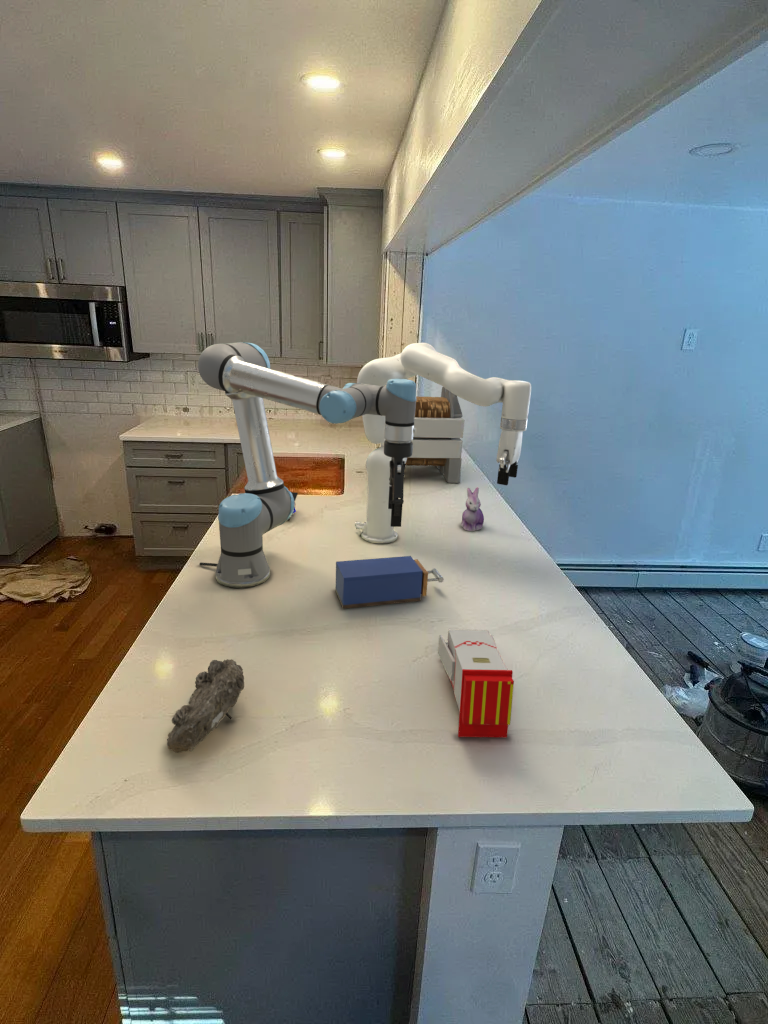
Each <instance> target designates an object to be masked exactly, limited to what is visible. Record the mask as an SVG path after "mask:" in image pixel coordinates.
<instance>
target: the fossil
mask: <svg viewBox="0 0 768 1024" xmlns="http://www.w3.org/2000/svg"><path fill="white" fill-rule="evenodd" d="M243 670H244V669H243V667H242V665H240V664H237V662H236V661H235V660H234V659H232V658H231V659H227V658H226V659H224V660H223V661H222V660H217V659H212V660H211V661H210V663H209V665H208V666H207V671H201V672H199V673H198V674H197V675H196V676H195V680H194V684H195V685H194V687H195V689H194V690H193V693H192V694H191V697H190V698H189V700H188V704H184V705H182V706H181V707H180V709H177V710H176V711H175V713H174V715H173V716H172V718H171V723H172V724H173V727H172V730H171V731H170V732H168V734H167V738H166V741H167V742H166V745H167V749H168V750H169V751H173V752H174V753H176V754H178V753H182V752H188V751H189V752H192V751H193V750H195V748H196V747H197V746H199V744H200V743H201V742H203V741H204V740H205V739H206V738H207V737H208V736H209V735H210V734H211V733H212V732H214V730H215V729H217V727H218V726H219V724H220V722H221V721H222V720H223V719H224V718H225V716H226V717H227V719H229V720H233V717H232V715H230V714H229V710H230V709H231V708H234V706H235V704H236V703H237V702H238V699H239V697H240V695H241V693H242V691H243V690H245V689H244V688H245V675H244V671H243Z"/></svg>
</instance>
